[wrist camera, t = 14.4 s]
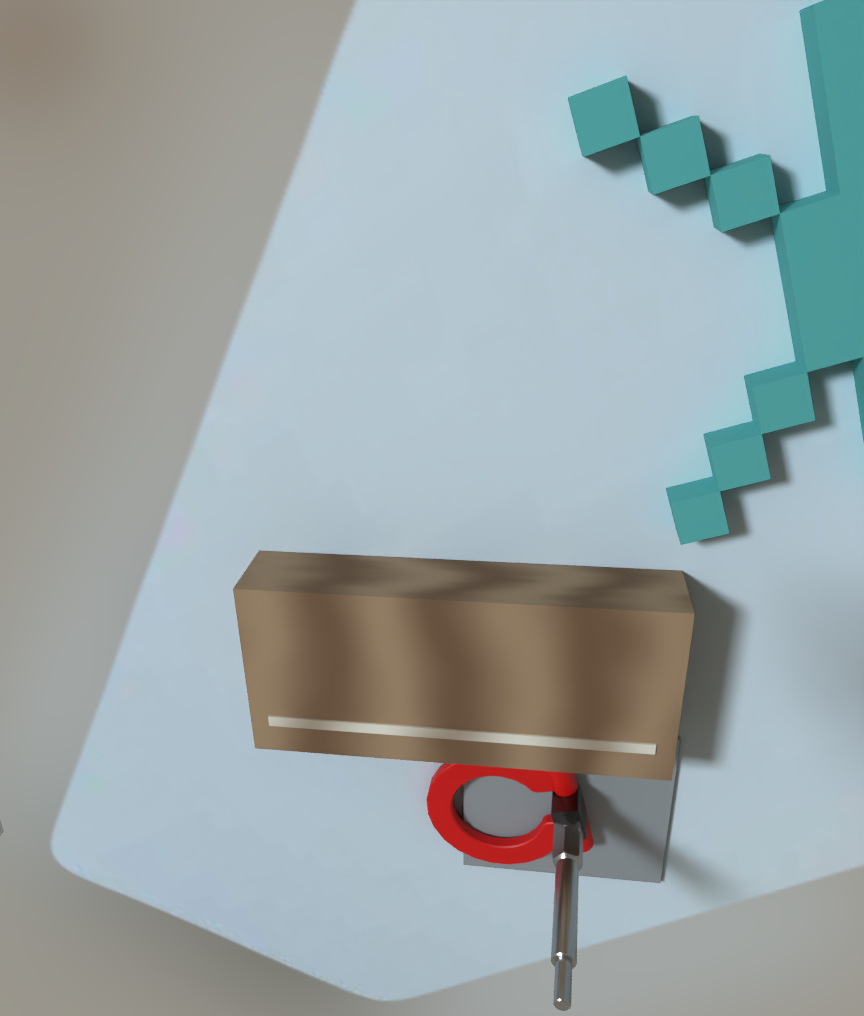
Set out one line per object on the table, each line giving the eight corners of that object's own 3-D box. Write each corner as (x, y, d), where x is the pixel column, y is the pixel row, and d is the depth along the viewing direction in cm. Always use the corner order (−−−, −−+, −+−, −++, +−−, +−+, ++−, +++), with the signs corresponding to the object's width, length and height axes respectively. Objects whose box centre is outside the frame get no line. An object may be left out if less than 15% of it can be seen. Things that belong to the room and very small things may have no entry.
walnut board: (682, 570, 41) (695, 614, 37) (662, 728, 45) (671, 782, 42) (259, 550, 44) (232, 589, 40) (277, 701, 48) (254, 749, 44)
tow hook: (452, 854, 52) (598, 843, 49) (410, 1065, 40) (600, 1066, 38) (412, 750, 48) (567, 733, 46) (356, 947, 37) (558, 939, 34)
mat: (679, 737, 45) (680, 740, 45) (659, 879, 50) (660, 883, 50) (463, 721, 47) (463, 725, 47) (464, 860, 52) (463, 864, 51)
